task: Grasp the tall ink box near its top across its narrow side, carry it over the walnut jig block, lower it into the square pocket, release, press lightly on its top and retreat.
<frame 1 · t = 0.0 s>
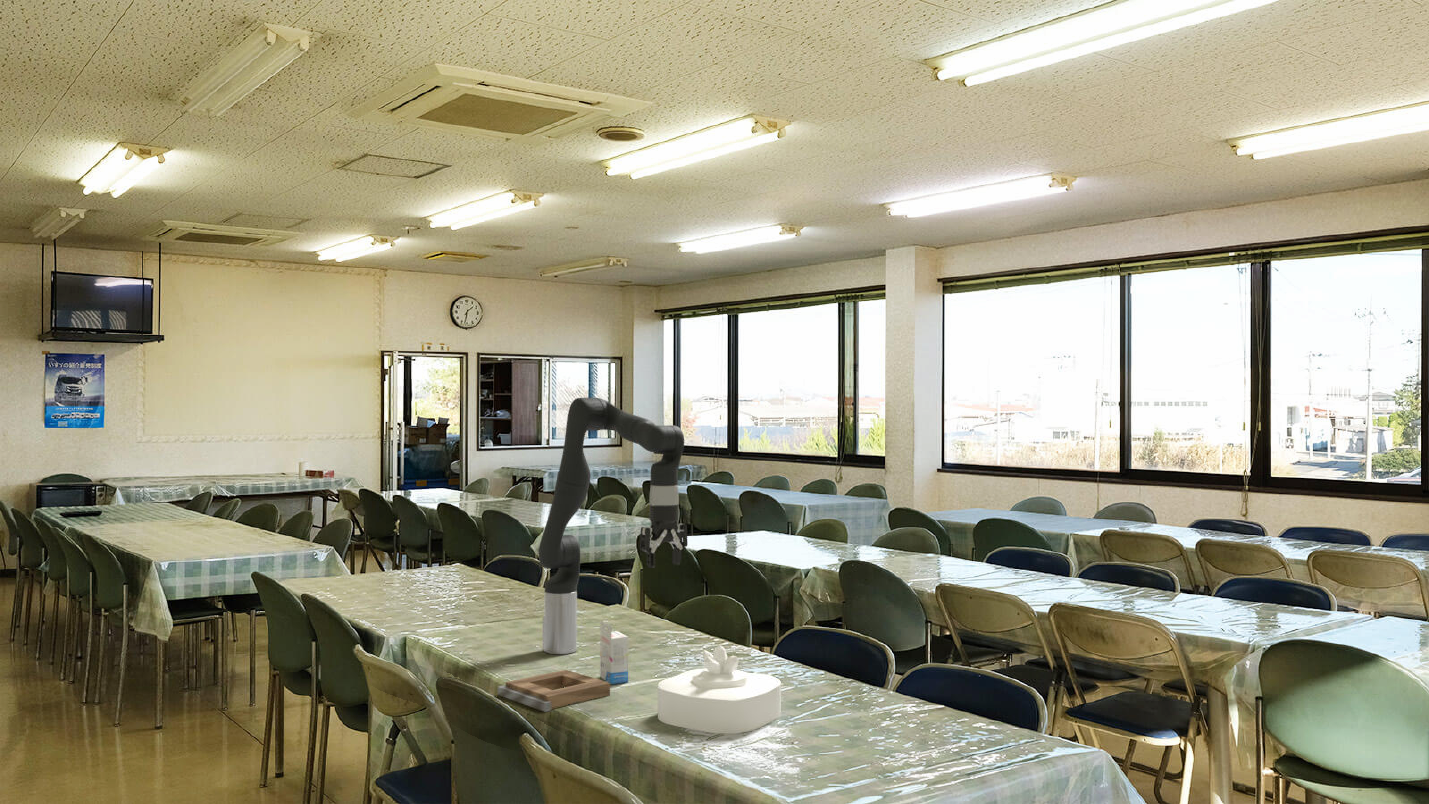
hand: (663, 565, 268), 29 cm above the table, fingers open, 8 cm apart
tissue box: (719, 716, 237), on the table
jig: (557, 694, 253), on the table
ink box: (614, 680, 268), on the table
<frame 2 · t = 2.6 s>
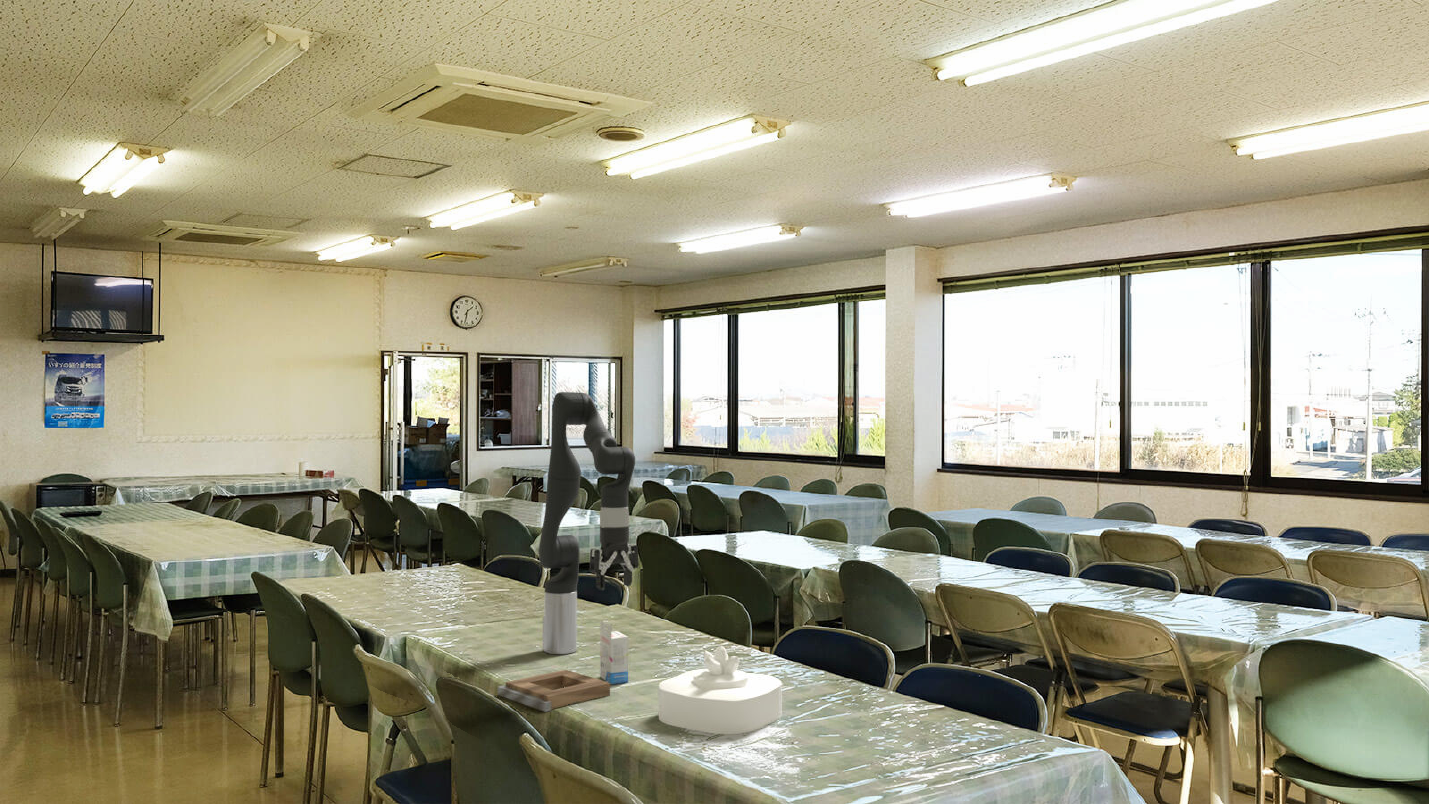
hand: (614, 587, 268), 24 cm above the table, fingers open, 8 cm apart
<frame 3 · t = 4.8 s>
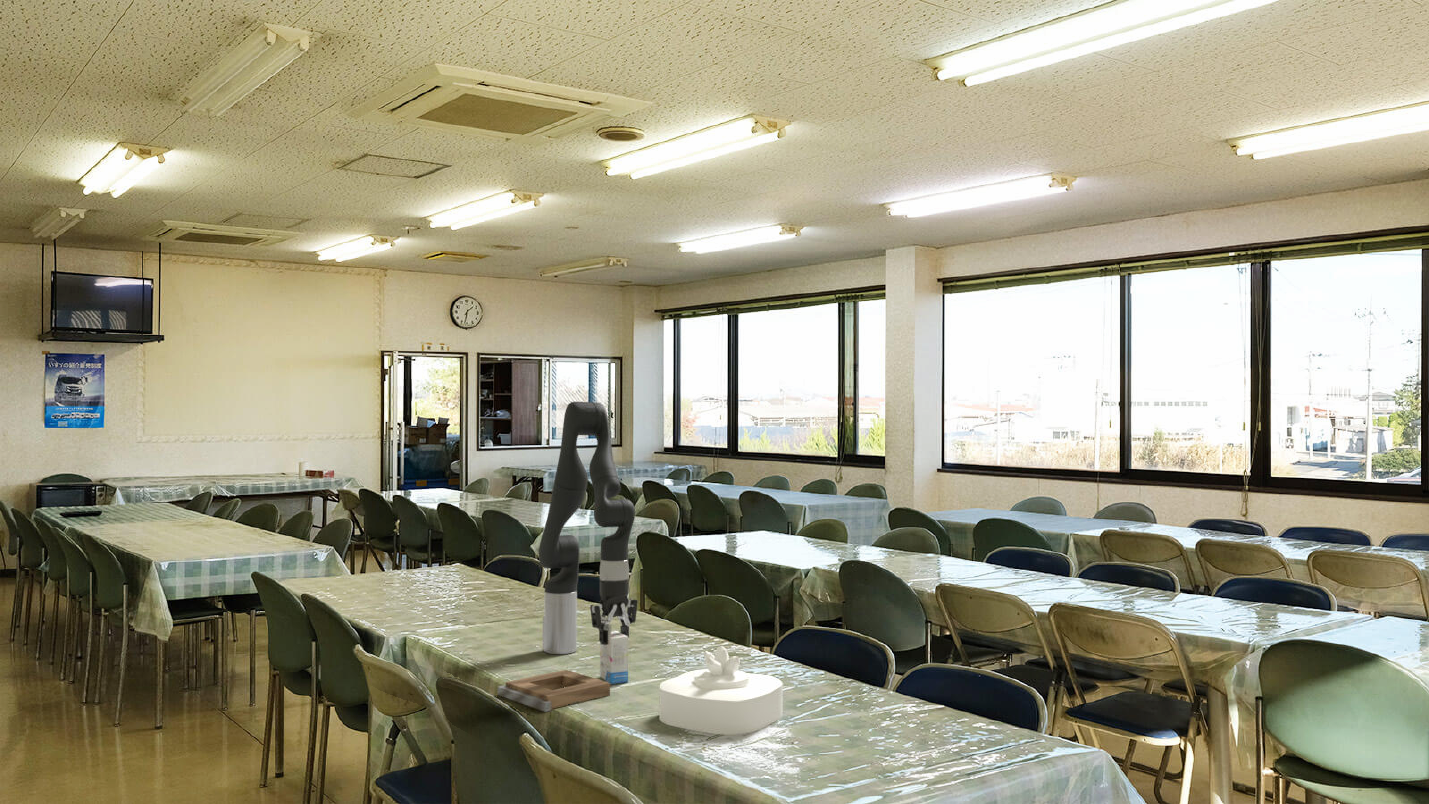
hand: (614, 642, 268), 10 cm above the table, fingers closed on ink box, 6 cm apart
ink box: (614, 680, 268), on the table, touching gripper
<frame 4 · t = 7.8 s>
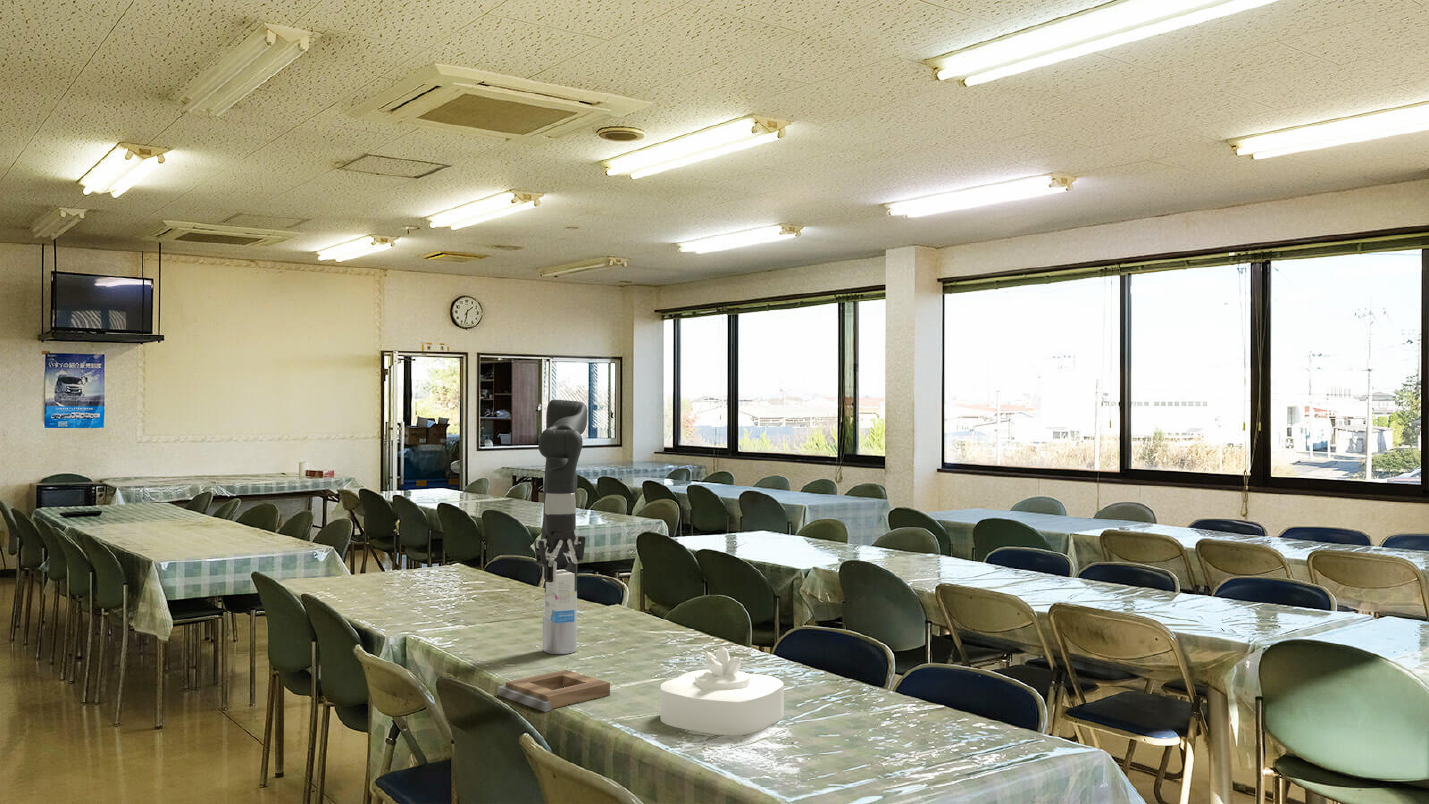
hand: (560, 580, 254), 28 cm above the table, fingers closed on ink box, 6 cm apart
ink box: (560, 620, 254), point 18 cm above the table, touching gripper
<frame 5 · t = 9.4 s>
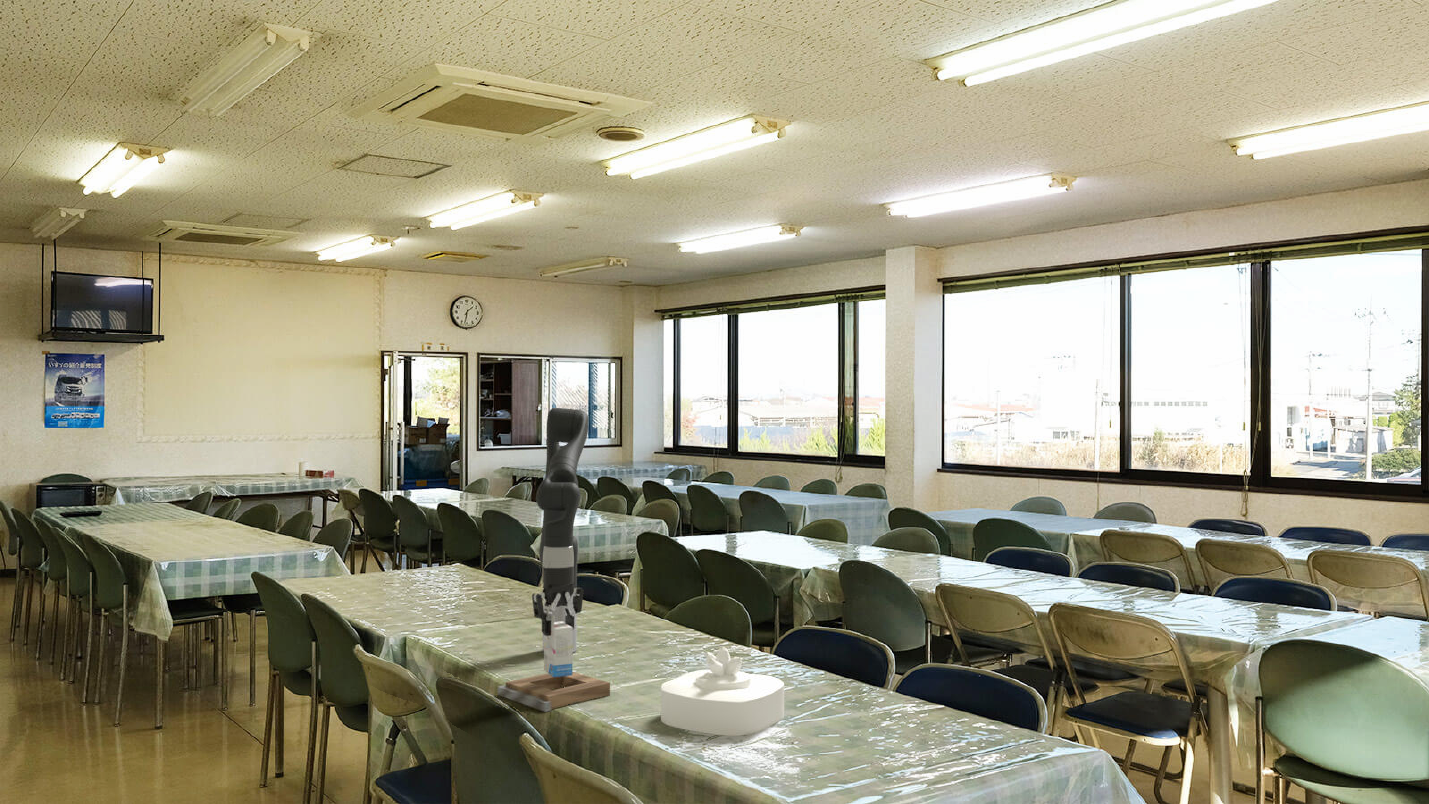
hand: (558, 633, 254), 15 cm above the table, fingers closed on ink box, 6 cm apart
ink box: (558, 673, 254), point 5 cm above the table, touching gripper
when the fingers open (11 cm above the table, at t = 10.8 s): ink box drops 1 cm, resting in jig.
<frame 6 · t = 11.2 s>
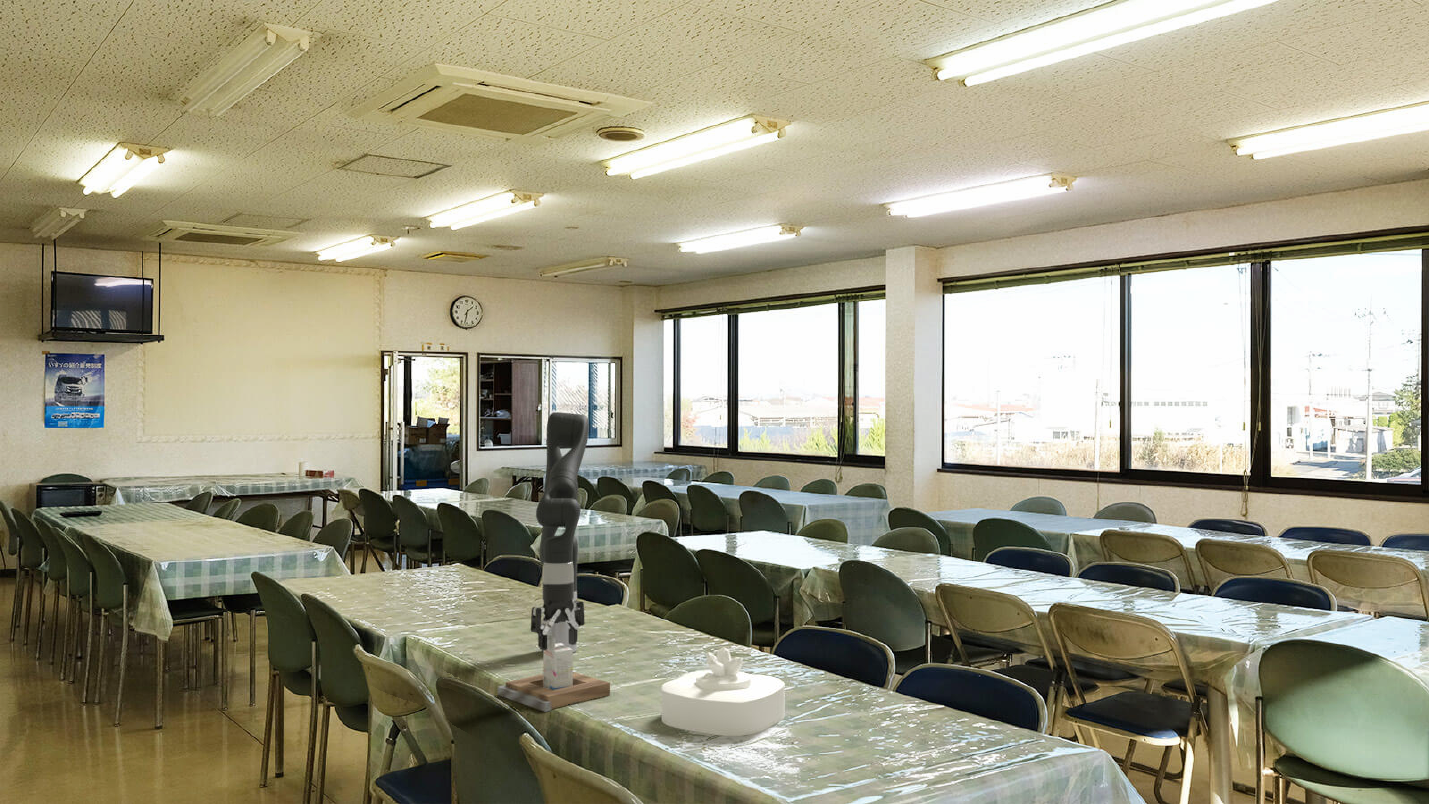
hand: (557, 647, 254), 12 cm above the table, fingers open, 8 cm apart
ink box: (557, 695, 254), resting in jig
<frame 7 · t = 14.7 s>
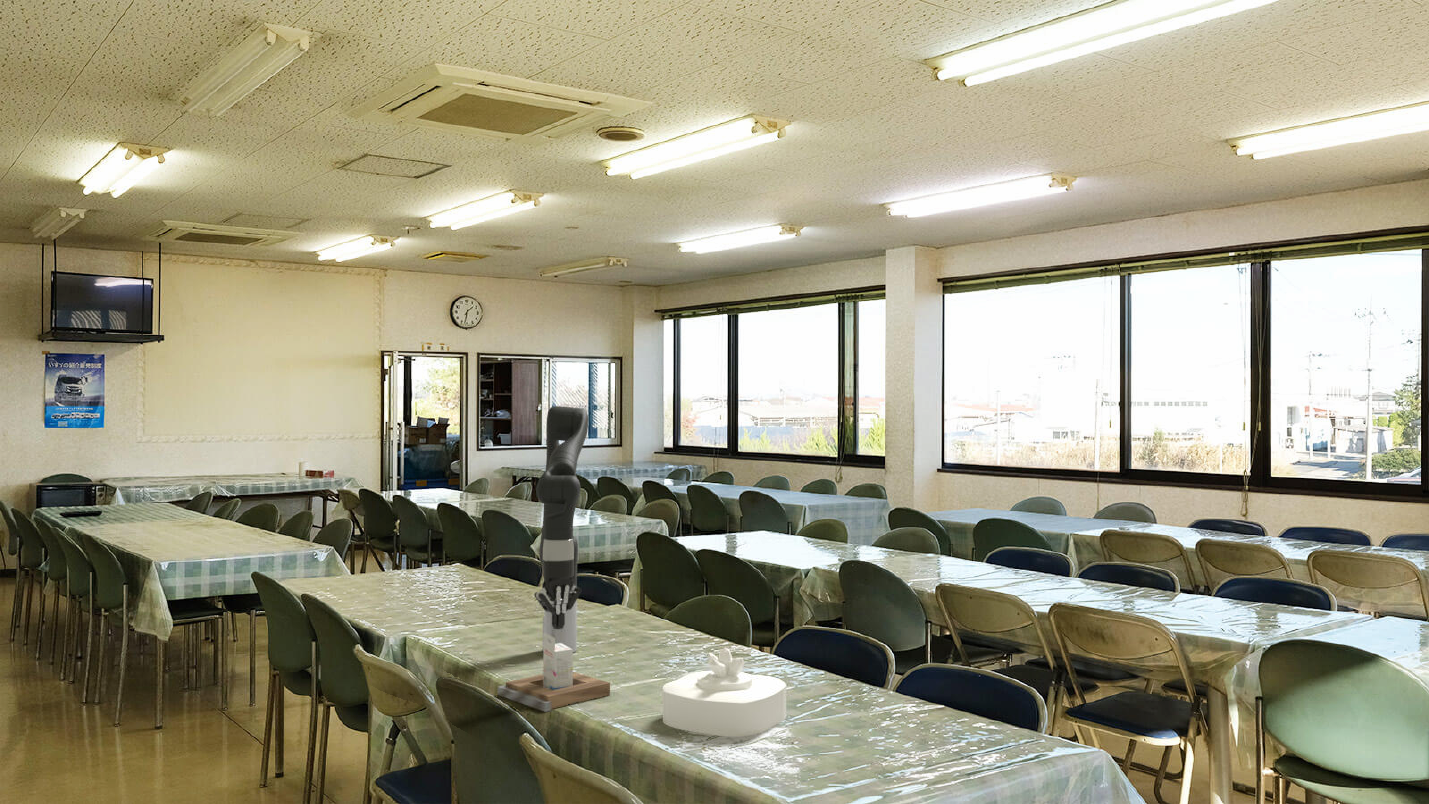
hand: (558, 628, 254), 16 cm above the table, fingers closed
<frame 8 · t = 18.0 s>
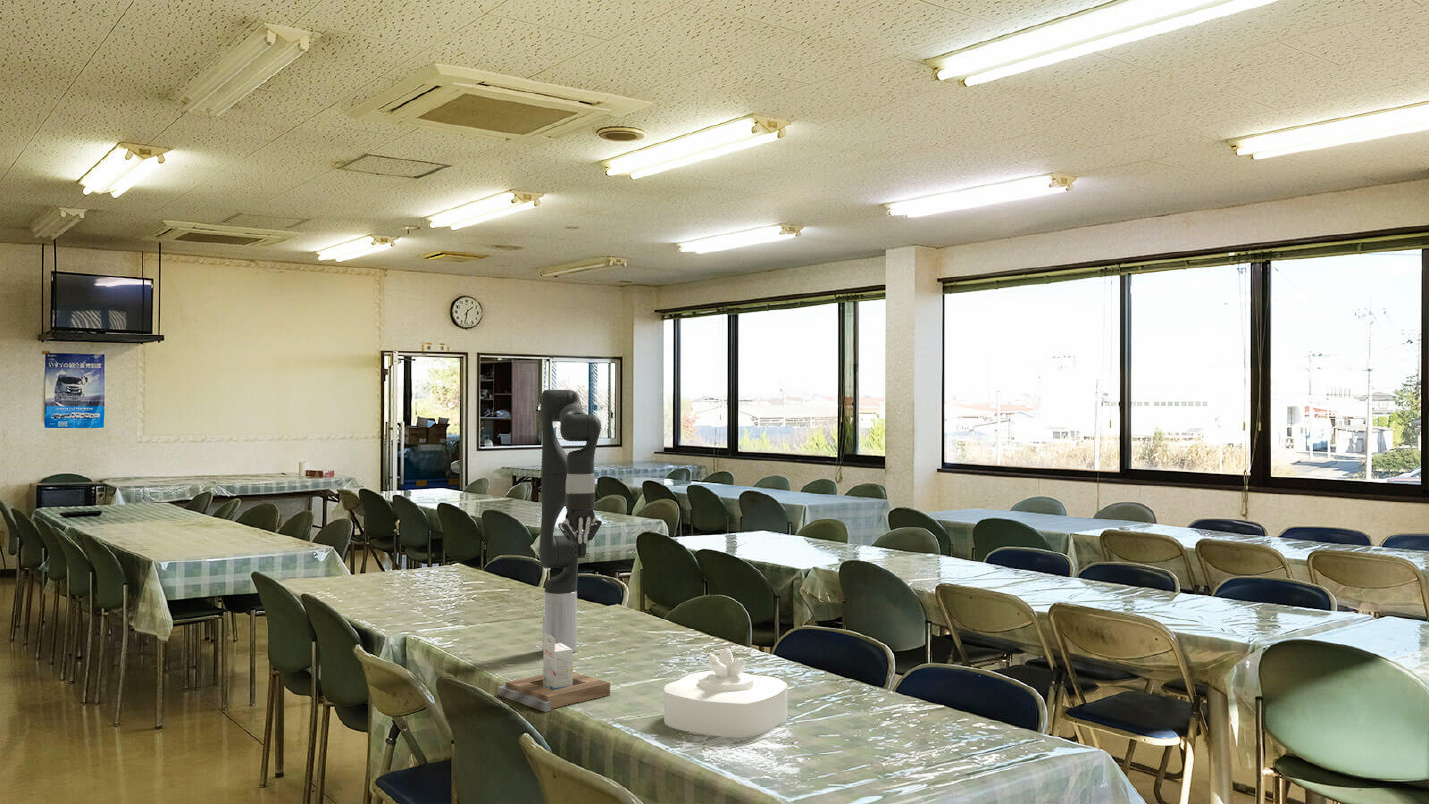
hand: (580, 557, 271), 31 cm above the table, fingers closed
at the end: ink box 0.1 cm off-centre on the jig, point 0.0 cm above the jig's base; ink box tilted 0°; the gripper is holding nothing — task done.
